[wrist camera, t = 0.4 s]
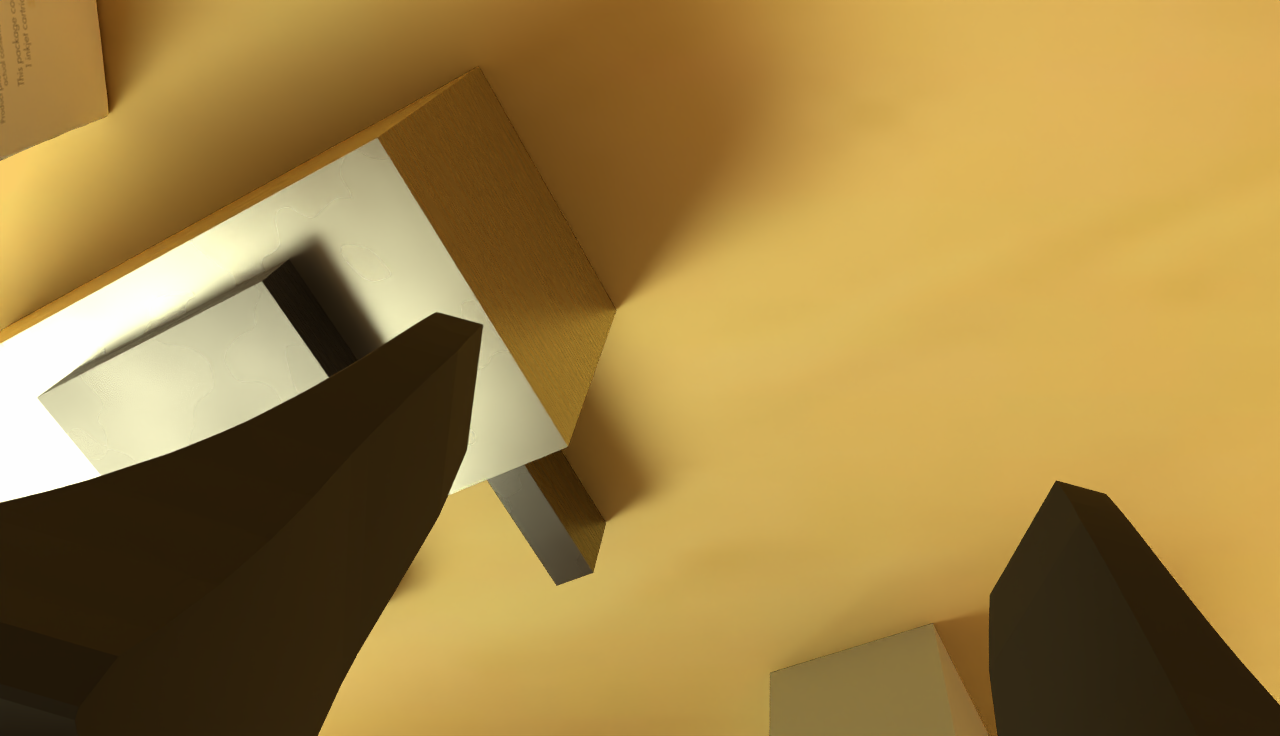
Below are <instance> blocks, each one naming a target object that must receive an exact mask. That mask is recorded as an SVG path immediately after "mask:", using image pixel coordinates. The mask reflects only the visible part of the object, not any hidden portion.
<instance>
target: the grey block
mask: <svg viewBox="0 0 1280 736" xmlns="http://www.w3.org/2000/svg"><path fill="white" fill-rule="evenodd" d="M769 736H989V735H988V733H987V731H986V729H985V727H984V725H983V722H982V720H981V718H980V716H979V714H978V712H977V710H976V708H975V706H974V704H973V702H972V700H971V698H970V696H969V694H968V692H967V690H966V688H965V686H964V684H963V682H962V680H961V678H960V676H959V674H958V672H957V670H956V668H955V666H954V664H953V662H952V660H951V658H950V656H949V654H948V652H947V650H946V648H945V646H944V644H943V642H942V640H941V638H940V636H939V634H938V632H937V630H936V628H935V626H934V624H933V623H932V624H928V625H925V626H922V627H919V628H915V629H912V630H909V631H905V632H902V633H899V634H896V635H892V636H889V637H886V638H883V639H879V640H876V641H873V642H869V643H866V644H863V645H860V646H856V647H853V648H850V649H847V650H843V651H840V652H837V653H833V654H830V655H827V656H824V657H820V658H817V659H814V660H810V661H807V662H804V663H801V664H797V665H794V666H791V667H788V668H784V669H781V670H778V671H774V672H771V673H770V729H769Z"/></svg>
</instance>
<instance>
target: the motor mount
mask: <svg viewBox="0 0 1280 736" xmlns="http://www.w3.org/2000/svg"><path fill="white" fill-rule="evenodd" d="M435 312H439V313H443V314H447V315H450V316H454V317H458V318H461V319H465V320H469V321H472V322H476V323H480V324H483V331H482V339H481V347H480V354H479V362H478V370H477V377H476V385H475V393H474V401H473V408H472V416H471V424H470V431H469V439H468V447H467V451H466V454H465V456H464V459H463V461H462V463H461V466H460V468H459V471H458V473H457V475H456V478H455V480H454V483H453V485H452V487H451V490H450V492H449V494H448V495H450V494H453V493H455V492H457V491H460V490H462V489H465V488H467V487H470V486H472V485H475V484H477V483H480V482H482V481H485V480H487V481H488V482H489V484H490V485H491V487H492V488H493V490H494V491H495V493H496V495H497V496H498V498H499V499H500V501H501V502H502V504H503V505H504V507H505V508H506V510H507V511H508V513H509V514H510V516H511V517H512V519H513V520H514V522H515V523H516V525H517V526H518V528H519V529H520V531H521V532H522V534H523V535H524V537H525V538H526V540H527V541H528V543H529V544H530V546H531V547H532V549H533V551H534V552H535V554H536V555H537V557H538V558H539V560H540V561H541V563H542V564H543V566H544V567H545V569H546V570H547V572H548V573H549V575H550V576H551V578H552V579H553V581H554V582H555V584H556V585H560V584H563V583H566V582H569V581H571V580H574V579H577V578H580V577H582V576H585V575H588V574H591V573H593V572H594V568H595V564H596V560H597V556H598V552H599V548H600V545H601V541H602V537H603V533H604V529H605V525H606V522H605V521H604V519H603V518H602V516H601V514H600V513H599V511H598V509H597V508H596V506H595V505H594V503H593V501H592V500H591V498H590V497H589V495H588V493H587V492H586V490H585V489H584V487H583V485H582V484H581V482H580V480H579V479H578V477H577V476H576V474H575V472H574V471H573V469H572V468H571V466H570V464H569V463H568V461H567V460H566V458H565V456H564V455H563V453H562V451H561V449H564V448H566V447H568V445H569V443H570V440H571V437H572V434H573V431H574V428H575V426H576V423H577V420H578V417H579V414H580V412H581V409H582V406H583V403H584V400H585V398H586V395H587V392H588V389H589V386H590V383H591V381H592V378H593V375H594V372H595V369H596V367H597V364H598V361H599V358H600V355H601V352H602V350H603V347H604V344H605V341H606V338H607V336H608V333H609V330H610V327H611V324H612V321H613V319H614V316H615V313H616V309H615V307H614V305H613V304H612V302H611V300H610V298H609V297H608V295H607V293H606V291H605V290H604V288H603V286H602V284H601V282H600V281H599V279H598V277H597V275H596V274H595V272H594V270H593V268H592V266H591V265H590V263H589V261H588V259H587V258H586V256H585V254H584V252H583V250H582V249H581V247H580V245H579V243H578V242H577V240H576V238H575V236H574V235H573V233H572V231H571V229H570V227H569V226H568V224H567V222H566V220H565V219H564V217H563V215H562V213H561V211H560V210H559V208H558V206H557V204H556V203H555V201H554V199H553V197H552V195H551V194H550V192H549V190H548V188H547V187H546V185H545V183H544V181H543V179H542V178H541V176H540V174H539V172H538V171H537V169H536V167H535V165H534V164H533V162H532V160H531V158H530V156H529V155H528V153H527V151H526V149H525V148H524V146H523V144H522V142H521V140H520V139H519V137H518V135H517V133H516V132H515V130H514V128H513V126H512V124H511V123H510V121H509V119H508V117H507V116H506V114H505V112H504V110H503V108H502V107H501V105H500V103H499V101H498V100H497V98H496V96H495V94H494V93H493V91H492V89H491V87H490V85H489V84H488V82H487V80H486V78H485V77H484V75H483V73H482V71H481V69H480V68H479V66H478V67H477V68H475V69H473V70H471V71H469V72H467V73H466V74H464V75H462V76H460V77H458V78H457V79H455V80H453V81H451V82H449V83H448V84H446V85H444V86H442V87H440V88H438V89H437V90H435V91H433V92H431V93H429V94H428V95H426V96H424V97H422V98H420V99H419V100H417V101H415V102H413V103H411V104H410V105H408V106H406V107H404V108H402V109H400V110H399V111H397V112H395V113H393V114H391V115H390V116H388V117H386V118H384V119H382V120H381V121H379V122H377V123H375V124H373V125H371V126H370V127H368V128H366V129H364V130H362V131H361V132H359V133H357V134H355V135H353V136H352V137H350V138H348V139H346V140H344V141H343V142H341V143H339V144H337V145H335V146H333V147H332V148H330V149H328V150H326V151H324V152H323V153H321V154H319V155H317V156H315V157H314V158H312V159H310V160H308V161H306V162H305V163H303V164H301V165H299V166H297V167H295V168H294V169H292V170H290V171H288V172H286V173H285V174H283V175H281V176H279V177H277V178H276V179H274V180H272V181H270V182H268V183H266V184H265V185H263V186H261V187H259V188H257V189H256V190H254V191H252V192H250V193H248V194H247V195H245V196H243V197H241V198H239V199H238V200H236V201H234V202H232V203H230V204H228V205H227V206H225V207H223V208H221V209H219V210H218V211H216V212H214V213H212V214H210V215H209V216H207V217H205V218H203V219H201V220H199V221H198V222H196V223H194V224H192V225H190V226H189V227H187V228H185V229H183V230H181V231H180V232H178V233H176V234H174V235H172V236H171V237H169V238H167V239H165V240H163V241H161V242H160V243H158V244H156V245H154V246H152V247H151V248H149V249H147V250H145V251H143V252H142V253H140V254H138V255H136V256H134V257H132V258H131V259H129V260H127V261H125V262H123V263H122V264H120V265H118V266H116V267H114V268H113V269H111V270H109V271H107V272H105V273H104V274H102V275H100V276H98V277H96V278H94V279H93V280H91V281H89V282H87V283H85V284H84V285H82V286H80V287H78V288H76V289H75V290H73V291H71V292H69V293H67V294H66V295H64V296H62V297H60V298H58V299H56V300H55V301H53V302H51V303H49V304H47V305H46V306H44V307H42V308H40V309H38V310H37V311H35V312H33V313H31V314H29V315H27V316H26V317H24V318H22V319H20V320H18V321H17V322H15V323H13V324H11V325H9V326H8V327H6V328H4V329H3V330H1V331H0V502H4V501H8V500H12V499H16V498H21V497H25V496H29V495H33V494H37V493H41V492H45V491H49V490H52V489H56V488H60V487H64V486H67V485H71V484H75V483H78V482H82V481H85V480H89V479H92V478H95V477H98V476H101V475H104V474H107V473H110V472H114V471H117V470H120V469H123V468H126V467H129V466H132V465H135V464H138V463H141V462H144V461H147V460H150V459H153V458H156V457H159V456H162V455H165V454H168V453H171V452H173V451H176V450H179V449H181V448H184V447H186V446H189V445H191V444H194V443H196V442H199V441H201V440H204V439H206V438H209V437H211V436H214V435H216V434H218V433H221V432H223V431H226V430H228V429H230V428H232V427H235V426H237V425H239V424H241V423H244V422H246V421H248V420H250V419H252V418H254V417H256V416H258V415H260V414H262V413H264V412H266V411H268V410H270V409H272V408H273V407H275V406H277V405H279V404H281V403H283V402H285V401H287V400H289V399H291V398H293V397H295V396H297V395H298V394H300V393H302V392H304V391H306V390H308V389H310V388H311V387H313V386H315V385H317V384H319V383H320V382H322V381H324V380H325V379H327V378H329V377H330V376H332V375H334V374H336V373H337V372H339V371H341V370H342V369H344V368H346V367H347V366H349V365H351V364H352V363H354V362H356V361H358V360H359V359H361V358H362V357H364V356H366V355H367V354H369V353H370V352H372V351H374V350H375V349H377V348H378V347H380V346H382V345H383V344H385V343H386V342H388V341H390V340H391V339H393V338H394V337H396V336H397V335H399V334H400V333H402V332H404V331H405V330H407V329H408V328H410V327H411V326H413V325H415V324H416V323H418V322H420V321H421V320H423V319H424V318H426V317H428V316H430V315H431V314H433V313H435Z"/></svg>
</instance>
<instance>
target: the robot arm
mask: <svg viewBox="0 0 1280 736" xmlns="http://www.w3.org/2000/svg"><path fill="white" fill-rule="evenodd" d="M482 331H483V324H480V323H476V322H472V321H469V320H465V319H461V318H458V317H454V316H450V315H447V314H443V313H439V312H435V313H433V314H431V315H430V316H428V317H426V318H424V319H423V320H421V321H420V322H418V323H416V324H415V325H413V326H411V327H410V328H408V329H407V330H405V331H404V332H402V333H400V334H399V335H397V336H396V337H394V338H393V339H391V340H390V341H388V342H386V343H385V344H383V345H382V346H380V347H378V348H377V349H375V350H374V351H372V352H370V353H369V354H367V355H366V356H364V357H362V358H361V359H359V360H358V361H356V362H354V363H352V364H351V365H349V366H347V367H346V368H344V369H342V370H341V371H339V372H337V373H336V374H334V375H332V376H330V377H329V378H327V379H325V380H324V381H322V382H320V383H319V384H317V385H315V386H313V387H311V388H310V389H308V390H306V391H304V392H302V393H300V394H298V395H297V396H295V397H293V398H291V399H289V400H287V401H285V402H283V403H281V404H279V405H277V406H275V407H273V408H272V409H270V410H268V411H266V412H264V413H262V414H260V415H258V416H256V417H254V418H252V419H250V420H248V421H246V422H244V423H241V424H239V425H237V426H235V427H232V428H230V429H228V430H226V431H223V432H221V433H218V434H216V435H214V436H211V437H209V438H206V439H204V440H201V441H199V442H196V443H194V444H191V445H189V446H186V447H184V448H181V449H179V450H176V451H173V452H171V453H168V454H165V455H162V456H159V457H156V458H153V459H150V460H147V461H144V462H141V463H138V464H135V465H132V466H129V467H126V468H123V469H120V470H117V471H114V472H110V473H107V474H104V475H101V476H98V477H95V478H92V479H89V480H85V481H82V482H78V483H75V484H71V485H67V486H64V487H60V488H56V489H52V490H49V491H45V492H41V493H37V494H33V495H29V496H25V497H21V498H16V499H12V500H8V501H4V502H0V736H318V734H319V732H320V730H321V727H322V725H323V723H324V721H325V719H326V717H327V714H328V712H329V710H330V708H331V706H332V703H333V701H334V699H335V697H336V695H337V693H338V690H339V688H340V686H341V684H342V682H343V680H344V678H345V677H346V675H347V673H348V671H349V669H350V667H351V665H352V663H353V662H354V660H355V658H356V656H357V654H358V652H359V651H360V649H361V647H362V646H363V644H364V642H365V641H366V639H367V637H368V636H369V634H370V632H371V630H372V629H373V627H374V625H375V624H376V622H377V620H378V619H379V617H380V615H381V614H382V612H383V610H384V609H385V607H386V605H387V604H388V602H389V600H390V598H391V597H392V595H393V593H394V592H395V590H396V588H397V587H398V585H399V583H400V582H401V580H402V578H403V577H404V575H405V573H406V572H407V570H408V568H409V566H410V565H411V563H412V561H413V560H414V558H415V556H416V555H417V553H418V551H419V549H420V548H421V546H422V544H423V543H424V541H425V539H426V537H427V536H428V534H429V532H430V531H431V529H432V527H433V525H434V524H435V522H436V520H437V518H438V517H439V515H440V512H441V510H442V508H443V506H444V503H445V501H446V499H447V497H448V494H449V492H450V490H451V487H452V485H453V483H454V480H455V478H456V475H457V473H458V471H459V468H460V466H461V463H462V461H463V459H464V456H465V454H466V451H467V447H468V439H469V431H470V424H471V416H472V408H473V401H474V393H475V385H476V377H477V370H478V362H479V354H480V347H481V339H482ZM989 673H990V681H991V689H992V697H993V704H994V712H995V719H996V727H997V734H998V736H1280V705H1279V704H1278V703H1277V701H1276V700H1275V699H1274V698H1273V697H1272V696H1271V695H1270V694H1269V692H1268V691H1267V690H1266V689H1265V688H1264V687H1263V686H1262V685H1261V683H1260V682H1259V681H1258V680H1257V679H1256V678H1255V677H1254V675H1253V674H1252V673H1251V672H1250V671H1249V670H1248V669H1247V668H1246V666H1245V665H1244V664H1243V663H1242V662H1241V661H1240V660H1239V658H1238V657H1237V656H1236V655H1235V654H1234V652H1233V651H1232V650H1231V649H1230V648H1229V646H1228V645H1227V644H1226V643H1225V642H1224V641H1223V639H1222V638H1221V637H1220V636H1219V634H1218V633H1217V632H1216V631H1215V630H1214V628H1213V627H1212V626H1211V625H1210V623H1209V622H1208V621H1207V620H1206V619H1205V617H1204V616H1203V615H1202V614H1201V612H1200V611H1199V610H1198V609H1197V607H1196V606H1195V605H1194V604H1193V602H1192V601H1191V600H1190V599H1189V597H1188V596H1187V595H1186V593H1185V592H1184V591H1183V590H1182V588H1181V587H1180V586H1179V585H1178V583H1177V582H1176V581H1175V579H1174V578H1173V577H1172V576H1171V574H1170V573H1169V572H1168V570H1167V569H1166V568H1165V567H1164V565H1163V564H1162V563H1161V561H1160V560H1159V559H1158V557H1157V556H1156V555H1155V554H1154V552H1153V551H1152V550H1151V548H1150V547H1149V546H1148V545H1147V543H1146V542H1145V541H1144V539H1143V538H1142V537H1141V536H1140V534H1139V533H1138V532H1137V531H1136V529H1135V528H1134V527H1133V525H1132V524H1131V523H1130V522H1129V520H1128V519H1127V518H1126V517H1125V515H1124V514H1123V513H1122V512H1121V511H1120V509H1119V508H1118V507H1117V506H1116V505H1115V504H1114V503H1113V501H1112V500H1111V499H1110V498H1109V497H1108V496H1107V495H1106V494H1104V493H1100V492H1096V491H1093V490H1089V489H1085V488H1082V487H1078V486H1074V485H1071V484H1067V483H1063V482H1060V481H1056V482H1055V483H1054V485H1053V487H1052V488H1051V490H1050V492H1049V494H1048V495H1047V497H1046V499H1045V501H1044V502H1043V504H1042V506H1041V508H1040V509H1039V511H1038V513H1037V514H1036V516H1035V518H1034V520H1033V521H1032V523H1031V525H1030V527H1029V528H1028V530H1027V532H1026V533H1025V535H1024V537H1023V539H1022V540H1021V542H1020V544H1019V546H1018V547H1017V549H1016V551H1015V553H1014V554H1013V556H1012V558H1011V559H1010V561H1009V563H1008V565H1007V566H1006V568H1005V570H1004V572H1003V573H1002V575H1001V577H1000V578H999V580H998V582H997V584H996V585H995V587H994V589H993V591H992V592H991V594H990V608H989Z"/></svg>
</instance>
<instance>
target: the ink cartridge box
mask: <svg viewBox="0 0 1280 736" xmlns="http://www.w3.org/2000/svg"><path fill="white" fill-rule="evenodd" d="M107 115H108V98H107V90H106V82H105V73H104V63H103V54H102V44H101V36H100V28H99V20H98V12H97V3H96V0H0V161H1V160H3V159H6V158H8V157H10V156H12V155H14V154H16V153H19V152H21V151H23V150H26V149H28V148H30V147H33V146H35V145H37V144H40V143H42V142H44V141H47V140H50V139H52V138H55V137H57V136H59V135H62V134H64V133H66V132H68V131H71V130H73V129H76V128H79V127H82V126H85V125H87V124H89V123H91V122H94V121H96V120H99V119H102V118H104V117H106V116H107Z"/></svg>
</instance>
